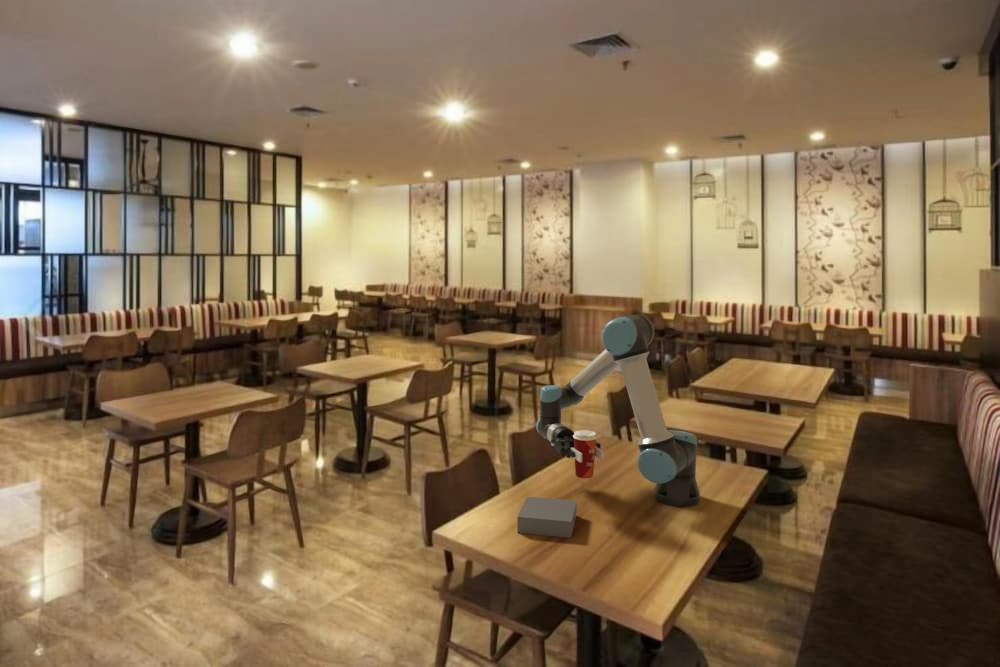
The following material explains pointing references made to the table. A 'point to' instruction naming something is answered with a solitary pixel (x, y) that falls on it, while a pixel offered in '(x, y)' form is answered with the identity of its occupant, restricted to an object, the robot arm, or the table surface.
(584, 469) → the paper cup
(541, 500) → the base block
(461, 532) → the table surface
